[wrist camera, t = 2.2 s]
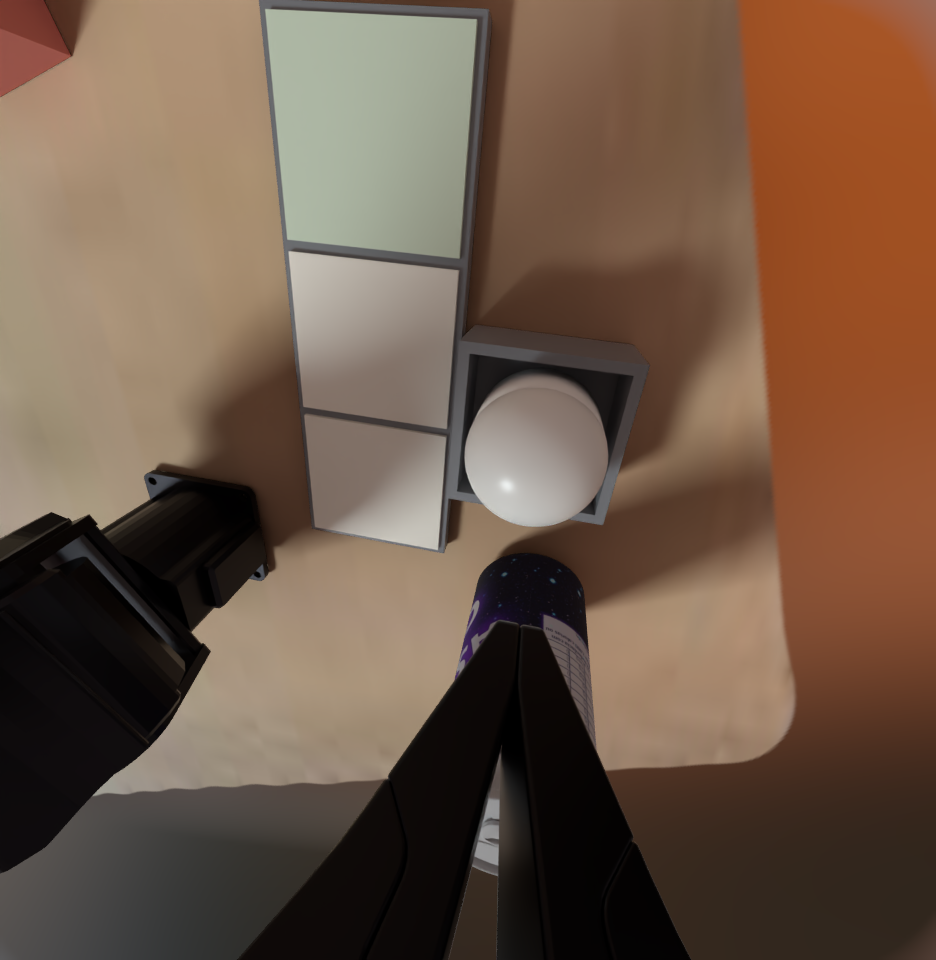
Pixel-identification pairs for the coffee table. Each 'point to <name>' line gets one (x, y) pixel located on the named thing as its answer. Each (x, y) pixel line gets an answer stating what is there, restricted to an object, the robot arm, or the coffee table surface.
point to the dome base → (593, 363)
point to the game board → (377, 246)
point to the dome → (537, 448)
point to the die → (27, 42)
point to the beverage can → (561, 614)
